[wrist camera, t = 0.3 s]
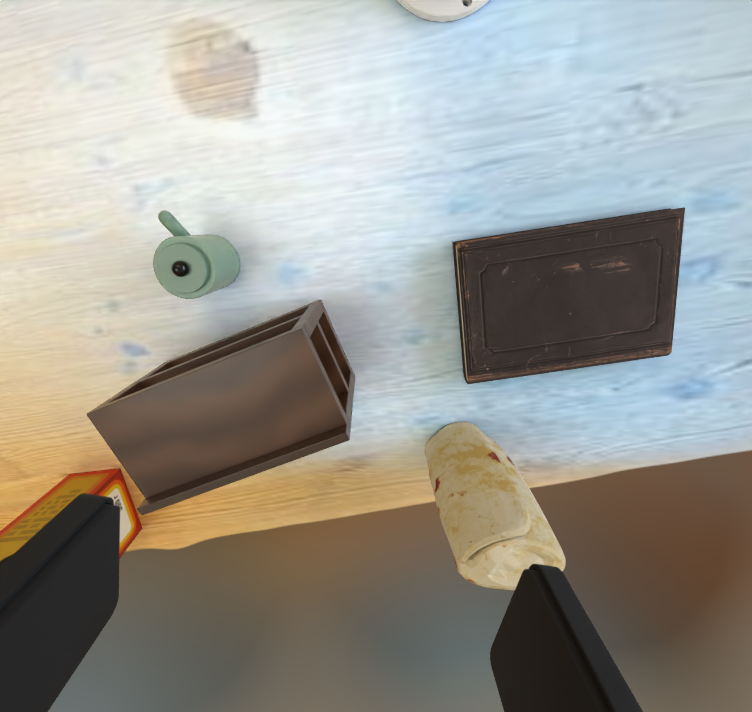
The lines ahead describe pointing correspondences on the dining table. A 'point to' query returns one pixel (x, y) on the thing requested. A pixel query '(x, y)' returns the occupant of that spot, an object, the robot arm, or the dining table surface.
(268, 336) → the stand
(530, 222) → the dining table surface
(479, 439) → the food model
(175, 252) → the kettle
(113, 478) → the baking soda box
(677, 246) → the hardcover book
